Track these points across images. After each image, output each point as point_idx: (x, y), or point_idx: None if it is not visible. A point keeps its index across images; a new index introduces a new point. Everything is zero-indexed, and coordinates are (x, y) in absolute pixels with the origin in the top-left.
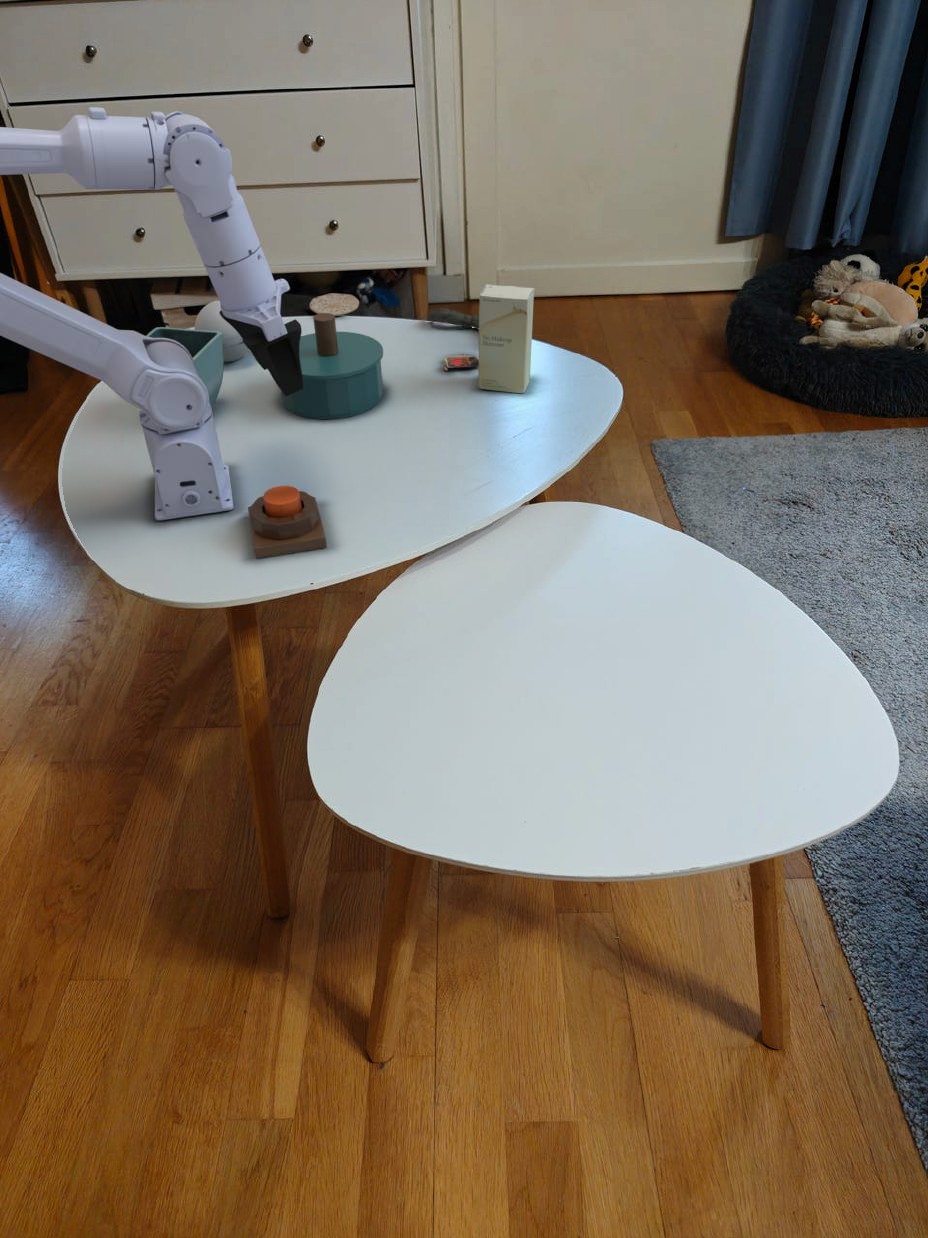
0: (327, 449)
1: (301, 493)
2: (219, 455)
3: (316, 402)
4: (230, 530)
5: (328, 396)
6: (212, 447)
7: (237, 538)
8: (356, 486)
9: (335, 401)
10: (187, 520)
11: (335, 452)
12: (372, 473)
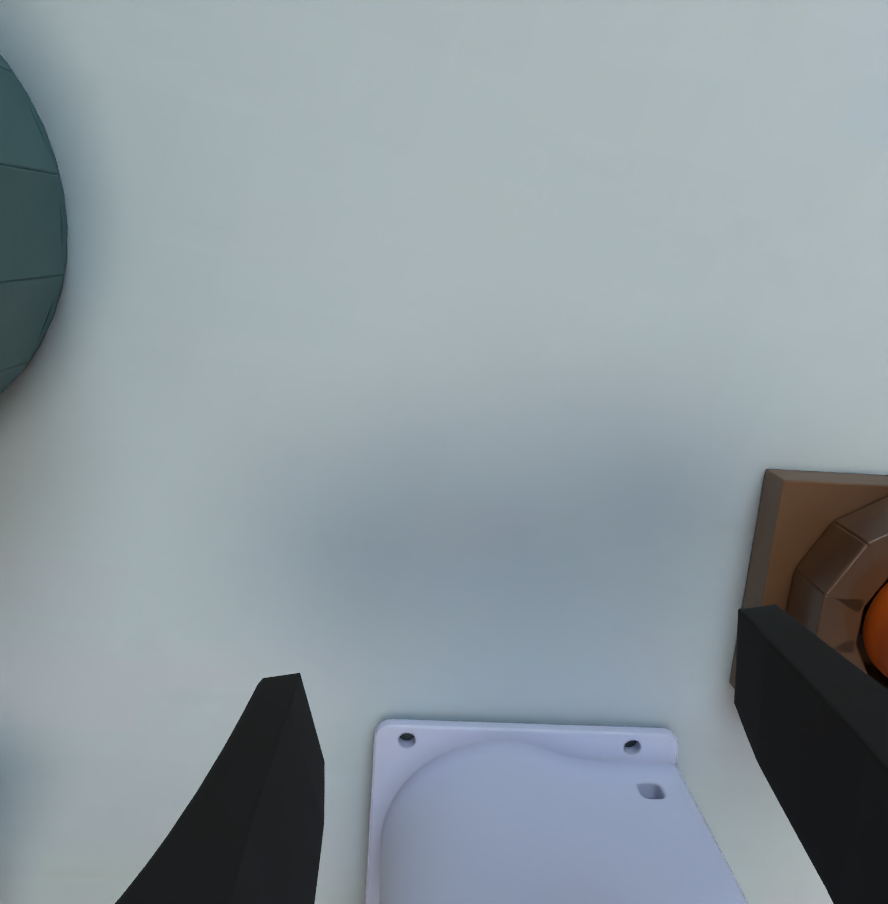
0: (348, 344)
1: (876, 554)
2: (553, 826)
3: (14, 334)
4: None
5: (20, 276)
6: (635, 897)
7: None
8: (687, 297)
9: (33, 241)
10: None
11: (385, 317)
12: (615, 209)
